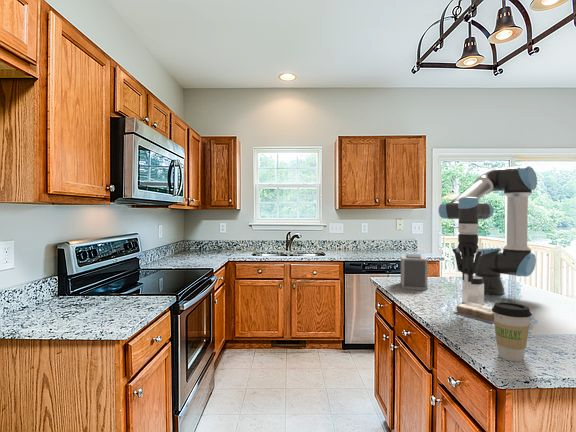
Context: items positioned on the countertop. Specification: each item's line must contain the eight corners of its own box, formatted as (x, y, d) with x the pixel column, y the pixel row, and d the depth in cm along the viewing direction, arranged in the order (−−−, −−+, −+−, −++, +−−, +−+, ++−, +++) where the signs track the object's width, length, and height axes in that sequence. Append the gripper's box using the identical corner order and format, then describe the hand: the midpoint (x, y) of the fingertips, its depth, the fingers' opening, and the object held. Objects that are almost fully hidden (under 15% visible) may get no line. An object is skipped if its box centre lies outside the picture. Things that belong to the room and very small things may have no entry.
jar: (476, 306, 158) (476, 279, 158) (459, 302, 165) (459, 276, 165) (487, 303, 163) (487, 277, 163) (469, 299, 170) (469, 274, 170)
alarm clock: (400, 282, 211) (400, 251, 211) (424, 283, 208) (424, 252, 208) (401, 289, 194) (402, 255, 193) (427, 290, 190) (427, 256, 190)
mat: (476, 308, 155) (476, 307, 155) (515, 317, 142) (515, 316, 142) (453, 313, 147) (453, 312, 147) (492, 323, 134) (492, 323, 134)
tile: (471, 302, 154) (504, 309, 142) (470, 307, 154) (504, 316, 142) (456, 305, 149) (489, 313, 137) (456, 311, 149) (489, 320, 137)
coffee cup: (483, 351, 108) (484, 301, 107) (514, 350, 108) (515, 301, 108) (506, 365, 98) (507, 310, 98) (539, 363, 99) (540, 310, 98)
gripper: (448, 233, 154) (448, 287, 154) (477, 234, 143) (477, 293, 143) (459, 232, 158) (458, 285, 158) (488, 234, 146) (487, 291, 147)
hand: (467, 289), depth 150 cm, fingers closed
